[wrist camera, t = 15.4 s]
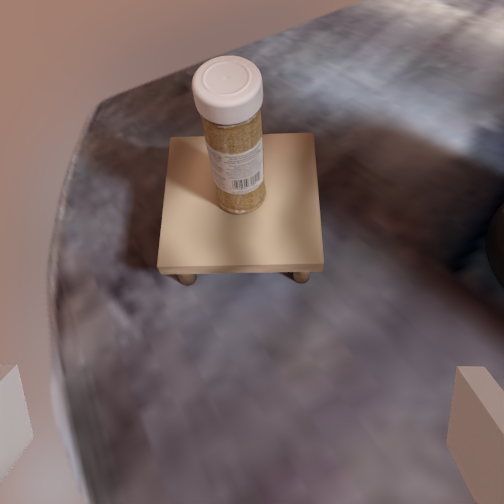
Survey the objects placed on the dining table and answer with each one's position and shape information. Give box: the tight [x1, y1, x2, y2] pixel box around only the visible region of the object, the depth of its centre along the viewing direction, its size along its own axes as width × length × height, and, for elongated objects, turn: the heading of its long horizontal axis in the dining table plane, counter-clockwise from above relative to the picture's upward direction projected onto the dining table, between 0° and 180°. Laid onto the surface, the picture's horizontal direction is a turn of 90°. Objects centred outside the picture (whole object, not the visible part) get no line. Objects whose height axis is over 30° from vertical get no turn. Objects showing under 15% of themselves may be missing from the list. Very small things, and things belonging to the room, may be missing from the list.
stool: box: [157, 133, 324, 286], centre depth 43 cm, size 14×14×6 cm
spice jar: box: [192, 56, 266, 215], centre depth 34 cm, size 5×5×13 cm
